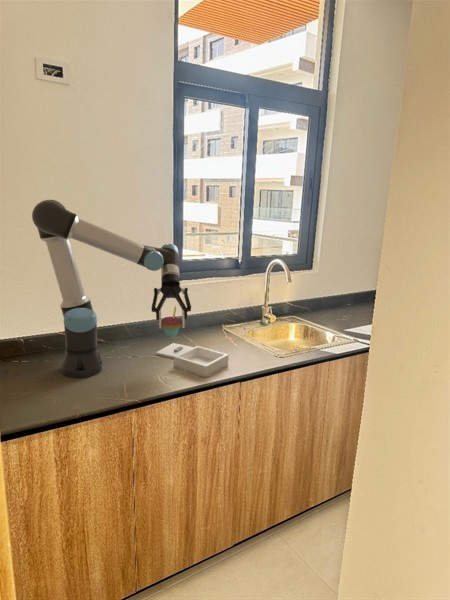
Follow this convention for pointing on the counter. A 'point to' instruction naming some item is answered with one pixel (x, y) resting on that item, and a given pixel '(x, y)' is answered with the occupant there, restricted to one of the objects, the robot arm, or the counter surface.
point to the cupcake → (171, 324)
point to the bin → (201, 361)
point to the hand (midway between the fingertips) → (172, 326)
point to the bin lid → (173, 350)
